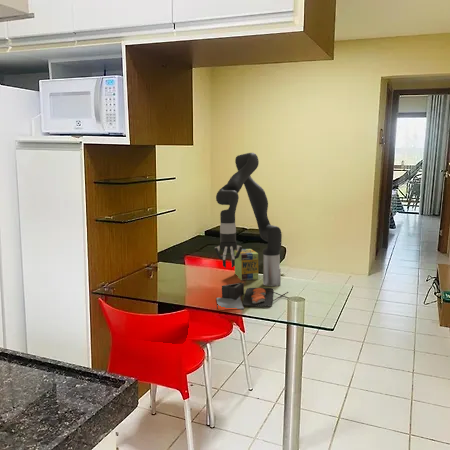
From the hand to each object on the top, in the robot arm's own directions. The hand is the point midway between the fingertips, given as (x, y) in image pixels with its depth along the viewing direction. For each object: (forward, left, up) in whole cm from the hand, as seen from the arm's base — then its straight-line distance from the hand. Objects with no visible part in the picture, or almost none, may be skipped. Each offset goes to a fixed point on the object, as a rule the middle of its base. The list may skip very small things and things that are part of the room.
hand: (228, 266), depth 222 cm
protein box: (-14, -49, -19) cm, 54 cm away
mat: (0, 0, -18) cm, 18 cm away
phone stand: (0, -6, -15) cm, 16 cm away
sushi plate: (-23, -5, -19) cm, 30 cm away
